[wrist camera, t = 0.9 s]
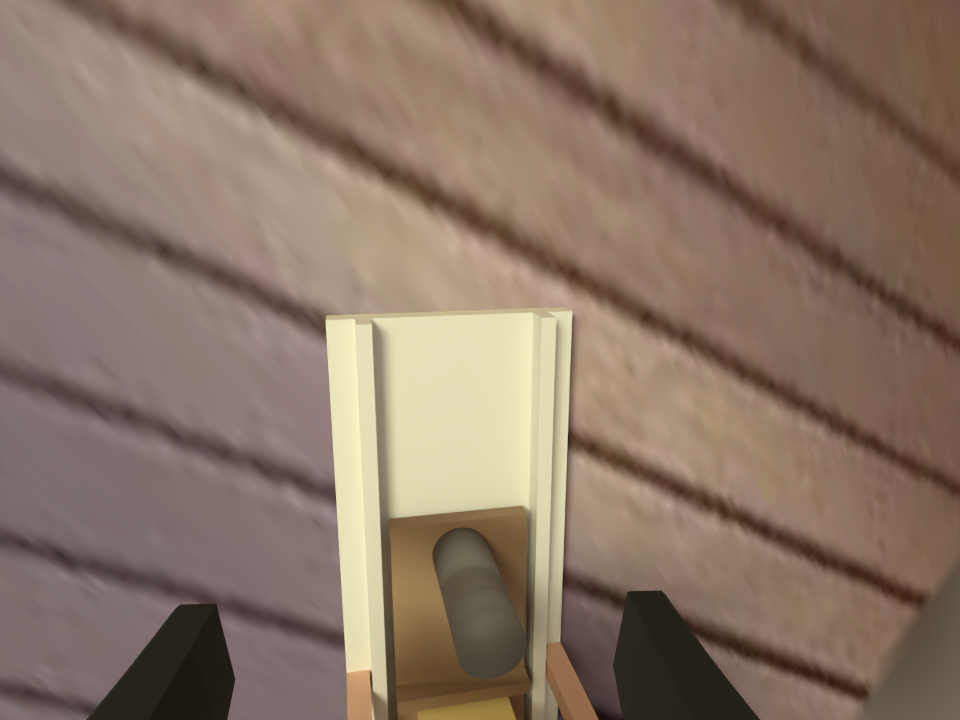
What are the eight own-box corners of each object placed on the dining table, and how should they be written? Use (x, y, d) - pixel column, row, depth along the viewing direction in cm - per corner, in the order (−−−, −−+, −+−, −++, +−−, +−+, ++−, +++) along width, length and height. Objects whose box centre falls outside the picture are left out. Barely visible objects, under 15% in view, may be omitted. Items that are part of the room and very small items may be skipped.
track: (548, 877, 36) (609, 1077, 27) (358, 919, 33) (363, 1149, 25) (568, 306, 28) (662, 352, 20) (321, 315, 26) (312, 370, 17)
